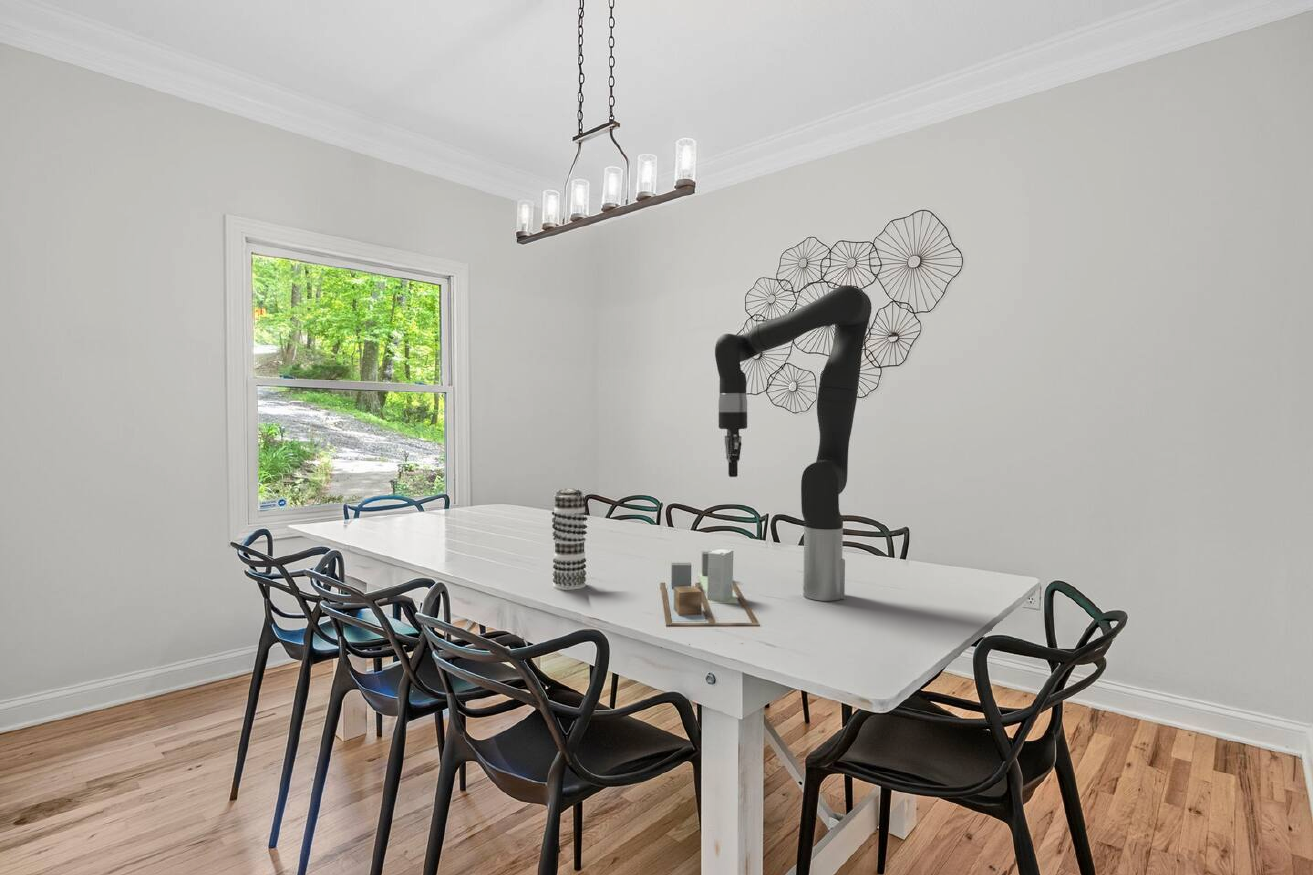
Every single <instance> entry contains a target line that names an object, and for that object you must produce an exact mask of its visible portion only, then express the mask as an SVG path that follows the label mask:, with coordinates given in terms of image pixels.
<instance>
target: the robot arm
mask: <svg viewBox="0 0 1313 875" xmlns="http://www.w3.org/2000/svg"><path fill="white" fill-rule="evenodd" d="M872 307H873V306H872V302H871V299H870V296H868V294H867V293H866V292H865V291H863V290H861V289H860V288H857V287H855V286H852V285H842V286H839V287H837V288H835V289H832V290H831V291H830V292H827V293H826V294H824V295H823V296H821V297H819V298H817V299H815V300H814V301H812V302H810V303H808V304H806V305H804V306H801V307H799V308H797V309H795V310H793V311H791V312H788V313H786V314H785V313H784V314H783V315H780V316H778V317H774V318H772V319H769V320H767V321H764V322H762V323H758V324H756V325H754V326H753V327H751V328H750V330H749V331H748V332H745V333H743V334H742V333H741V334H739V335H738V334H732V333H724V334H722V335H720V336H719V337H718V339H717V341H716V343H715V347H714V357H715V362H716V363H715V364H716V367H717V373H718V377H719V396H718V397H719V398H718V428H719V429H720V430H726V435H725V436H724V446H725V454H726V461H727V463H728V469H727V470H728V473H727V474H728V477H730V478H737V477H738V469H739V468H738V463H739V462H740V460H741V449H742V444H743V443H742V435H740V430H746V429H747V428H748V398H747V376H746V374H745V372H744V371H743V370H742V366H741V362H745V361H747V360H750V359H751V358H754V357H755V356H757V355H760V354H761V353H763V352H765V351H770V350H772V349H776V348H778V347H781V346H783V345H786V344H788V343H790V342H792V341H794V340H796V339H798V338H799V337H801V336H803V335H804V334H806V333H809V332H810V331H814V330H816V329H820V328H823V327H827V326H828V327H829V326H832V325H833V326H834V334H833V343H832V347H831V351H830V354H829V357H828V358H827V361H826V362H825V365H824V367H823V370H822V373H821V376H820V380H819V385H818V390H817V399H816V417H817V423H818V429H819V430H818V431H819V446H818V451H817V456H816V460H815V462H813V463H811V464H809V465H807V466H806V467H805V468H804V470H803V472H802V475H801V480H800V481H801V482H800V483H801V484H800V488H801V489H800V494H801V495H800V498H801V503H800V504H801V505H800V506H801V514H802V517H803V524H804V525H803V584H802V588H803V589H802V590H803V592H802V595H803V597H805V598H807V599H810V600H813V601H814V600H817V601H822V602H826V601H827V602H830V601H838V600H845V599H846V598H845V596H846V595H845V594H846V593H845V592H846V591H845V589H846V584H845V583H846V582H845V581H846V580H845V579H846V560H845V558H843V549H844V548H843V547H844V546H843V545H844V544H843V543H844V541H843V539H844V538H843V537H844V535H843V534H844V528H843V527H844V517H843V515H842V514H841V512H840V507H839V506H840V496H839V495H840V494H842V492H843V491H844V490H845V488H846V486H847V483H848V482H847V481H848V470H849V469H848V468H849V467H848V466H849V463H848V462H849V448H850V439H851V435H852V429H853V423H854V417H855V410H856V406H857V399H858V392H859V384H860V374H861V366H862V357H863V356H862V355H863V348H864V342H865V339H866V338H865V337H866V334H867V330H868V326H869V323H870V318H871V315H872Z"/></svg>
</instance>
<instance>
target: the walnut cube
mask: <svg viewBox="0 0 1313 875" xmlns="http://www.w3.org/2000/svg"><path fill="white" fill-rule="evenodd" d="M702 606H703V604H702V591H700V590H699V589H698V588H697V587H696V586H695V585H691V586H683V587H674V610H675V611H676V613H677V614H678V615H679V616H684V615H701V610H702V611H703V607H702Z"/></svg>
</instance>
